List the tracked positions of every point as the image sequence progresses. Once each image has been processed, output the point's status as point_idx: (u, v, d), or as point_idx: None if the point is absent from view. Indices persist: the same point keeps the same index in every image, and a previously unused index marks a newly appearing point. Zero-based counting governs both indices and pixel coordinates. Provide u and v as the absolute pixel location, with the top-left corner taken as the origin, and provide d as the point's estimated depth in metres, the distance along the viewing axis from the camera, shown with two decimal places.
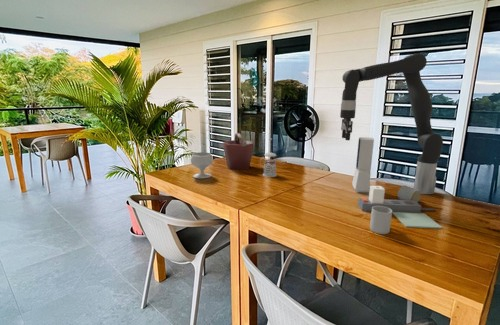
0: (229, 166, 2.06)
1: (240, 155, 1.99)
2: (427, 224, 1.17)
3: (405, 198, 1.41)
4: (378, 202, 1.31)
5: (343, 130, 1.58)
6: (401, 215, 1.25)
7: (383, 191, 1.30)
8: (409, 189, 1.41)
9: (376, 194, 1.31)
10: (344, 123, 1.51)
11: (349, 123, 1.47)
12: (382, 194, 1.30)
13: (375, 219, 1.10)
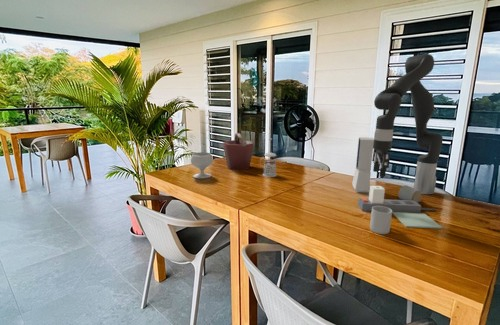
0: (229, 166, 2.06)
1: (240, 155, 1.99)
2: (427, 224, 1.17)
3: (406, 198, 1.42)
4: (378, 202, 1.31)
5: (375, 162, 1.34)
6: (401, 215, 1.25)
7: (383, 191, 1.30)
8: (410, 189, 1.41)
9: (376, 194, 1.31)
10: (378, 156, 1.27)
11: (386, 157, 1.22)
12: (382, 194, 1.30)
13: (375, 219, 1.10)
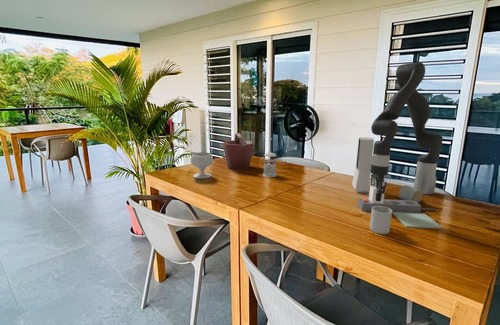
0: (229, 166, 2.06)
1: (240, 155, 1.99)
2: (427, 224, 1.17)
3: (406, 198, 1.42)
4: (378, 202, 1.31)
5: None
6: (401, 215, 1.25)
7: None
8: (410, 189, 1.41)
9: None
10: (375, 181, 1.30)
11: (382, 185, 1.25)
12: (382, 194, 1.30)
13: (375, 219, 1.10)
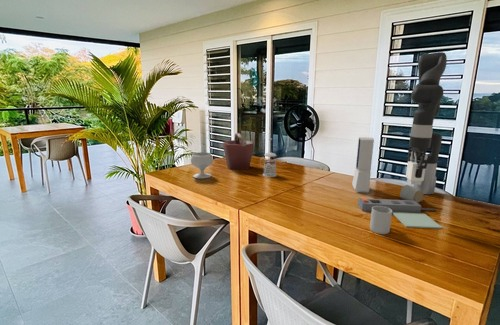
0: (229, 166, 2.06)
1: (240, 155, 1.99)
2: (427, 224, 1.17)
3: (407, 197, 1.42)
4: (418, 179, 1.17)
5: None
6: (401, 215, 1.25)
7: None
8: (411, 188, 1.42)
9: (415, 170, 1.16)
10: (415, 155, 1.15)
11: (424, 158, 1.11)
12: (423, 170, 1.16)
13: (375, 219, 1.10)
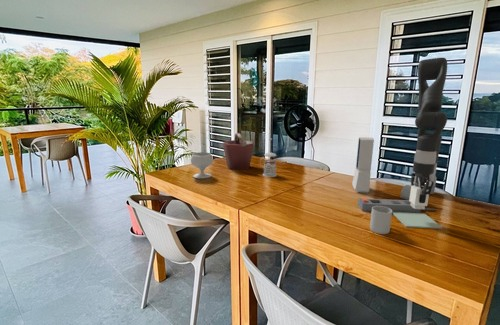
0: (229, 166, 2.06)
1: (240, 155, 1.99)
2: (427, 224, 1.17)
3: (408, 197, 1.42)
4: (421, 204, 1.17)
5: None
6: (401, 215, 1.25)
7: None
8: None
9: (419, 195, 1.17)
10: (419, 180, 1.16)
11: (428, 185, 1.11)
12: (426, 195, 1.16)
13: (375, 219, 1.10)
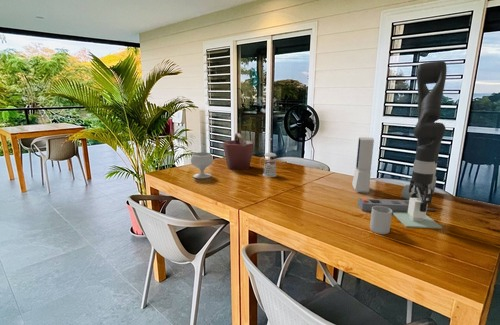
0: (229, 166, 2.06)
1: (240, 155, 1.99)
2: (427, 224, 1.17)
3: (409, 197, 1.43)
4: (420, 216, 1.19)
5: (412, 194, 1.24)
6: (401, 215, 1.25)
7: None
8: None
9: (417, 208, 1.18)
10: (418, 189, 1.17)
11: (428, 192, 1.12)
12: None
13: (375, 219, 1.10)
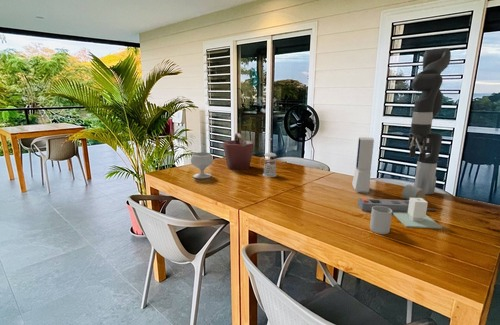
0: (229, 166, 2.06)
1: (240, 155, 1.99)
2: (427, 224, 1.17)
3: (409, 197, 1.43)
4: (420, 216, 1.19)
5: (412, 147, 1.29)
6: (401, 215, 1.25)
7: (426, 204, 1.17)
8: (413, 188, 1.43)
9: (417, 208, 1.18)
10: (417, 140, 1.22)
11: (426, 141, 1.17)
12: (424, 207, 1.18)
13: (375, 219, 1.10)
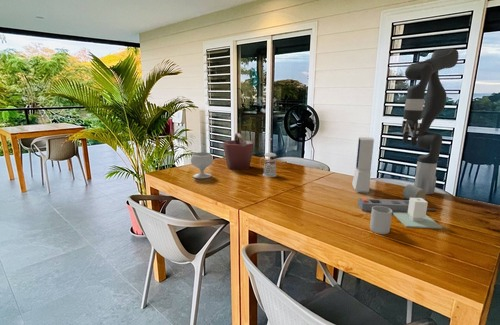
0: (229, 166, 2.06)
1: (240, 155, 1.99)
2: (427, 224, 1.17)
3: (410, 197, 1.43)
4: (420, 216, 1.19)
5: (404, 133, 1.37)
6: (401, 215, 1.25)
7: (426, 204, 1.17)
8: (414, 188, 1.43)
9: (417, 208, 1.18)
10: (409, 125, 1.30)
11: (417, 125, 1.25)
12: (424, 207, 1.18)
13: (375, 219, 1.10)
